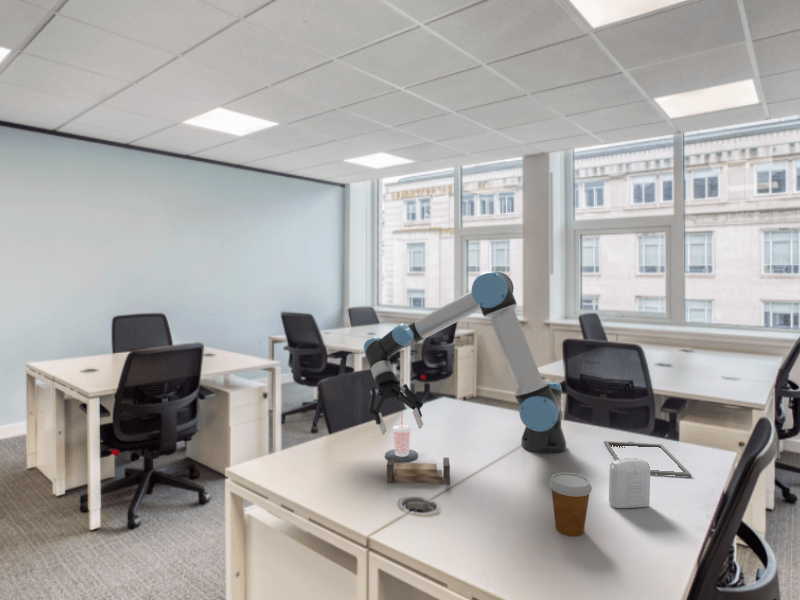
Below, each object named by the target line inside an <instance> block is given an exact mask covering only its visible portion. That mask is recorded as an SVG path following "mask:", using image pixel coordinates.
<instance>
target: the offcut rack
mask: <svg viewBox="0 0 800 600" xmlns="http://www.w3.org/2000/svg"><path fill="white" fill-rule="evenodd" d="M442 459H443V461H442V462H443V463H442V464H443V465H442V466H443V469H438V467H437V463H426V462H425V463H423V462H422V463H421V462H420V463H418V462H415V463H414V462H396V465H395V462H394V457H388V459H387V461H386V484H393V483H403V484H404V483H406V484H408V483H409V484H411V483H413V484H414V483H415V484H444V485H451V479H450V478H451V462H450V459H449V457H442ZM394 467H395V468H394Z"/></svg>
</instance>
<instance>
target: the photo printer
mask: <svg viewBox="0 0 800 600" xmlns="http://www.w3.org/2000/svg"><path fill="white" fill-rule="evenodd" d="M608 476H609V480H608V481H609V484H608V502H609V505H610V506H611V507H612V508H615V509H630V508H633V509H634V508H647V507H649V506H650V495H651V493H650V492H651V491H650V490H651V489H650V488H651V485H650V484H651V475H650V466H649V464H648V462H646V461H644V460H641V459H637V458H625V459H619V460H616V461H615V460H614V461H611V463H610V465H609V475H608Z"/></svg>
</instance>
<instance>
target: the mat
mask: <svg viewBox="0 0 800 600" xmlns="http://www.w3.org/2000/svg"><path fill="white" fill-rule="evenodd" d="M384 457H385V459H386V458H387V460H388V457H394V463H395V462H396V463H410V462H412V461H414V460H415V461H416V459H418V458H419V454H418V452H417V451H415V450H413V449H410V448H409V455H408V456H404V457H400V456H396V455H395V448H393V449H389V450H387V451H386V452H385V453H384Z"/></svg>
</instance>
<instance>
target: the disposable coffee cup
mask: <svg viewBox="0 0 800 600" xmlns="http://www.w3.org/2000/svg"><path fill="white" fill-rule="evenodd" d="M548 483H549V486H550V490H551V497H552V507H553V516H554V524H555V525H554V526H555V529H556V531H558V532H559V533H561V534H562V535H565V536H568V537H579V536H582V535H583V534H584V533H585V525H586V519H587V512H588V506H589V499H590V493H591V491H592V489H593V486H592V485H591V482H590V480H589V479H588V478H587V477H586V476H584V475H582V474H578V473H574V472H556V473H554V474H552V475H551V476H550V480H549V482H548Z"/></svg>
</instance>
